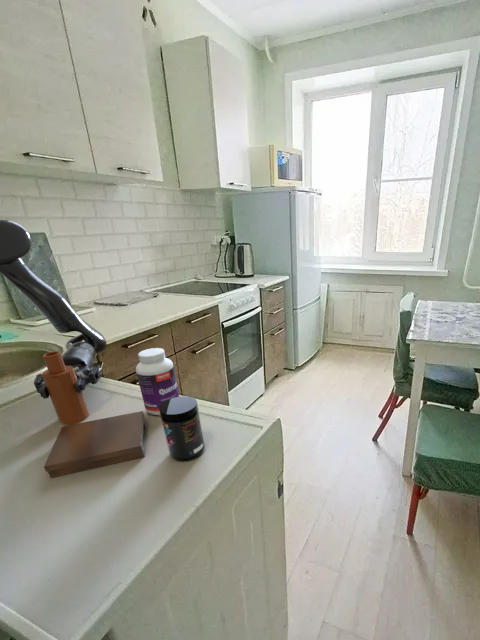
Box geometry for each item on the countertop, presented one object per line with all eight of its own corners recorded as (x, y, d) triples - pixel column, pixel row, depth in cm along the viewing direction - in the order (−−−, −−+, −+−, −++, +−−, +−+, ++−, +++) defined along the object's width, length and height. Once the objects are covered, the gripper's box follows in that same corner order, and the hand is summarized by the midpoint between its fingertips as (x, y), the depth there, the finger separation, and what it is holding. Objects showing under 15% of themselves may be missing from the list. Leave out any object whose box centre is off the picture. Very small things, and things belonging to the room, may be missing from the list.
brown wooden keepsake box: (49, 479, 63) (43, 466, 61) (66, 438, 75) (61, 426, 73) (144, 458, 67) (140, 445, 66) (146, 422, 79) (143, 410, 78)
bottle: (57, 427, 79) (31, 360, 72) (63, 414, 84) (39, 351, 77) (86, 421, 81) (64, 356, 74) (90, 409, 86) (70, 347, 79)
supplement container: (184, 438, 72) (175, 394, 68) (212, 445, 70) (204, 399, 65) (162, 458, 67) (150, 411, 62) (191, 466, 64) (181, 417, 60)
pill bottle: (167, 419, 80) (153, 360, 73) (138, 414, 82) (123, 357, 76) (188, 402, 87) (177, 347, 80) (161, 398, 89) (148, 344, 83)
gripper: (39, 355, 88) (16, 382, 73) (102, 346, 92) (92, 370, 77) (49, 382, 91) (29, 413, 77) (109, 373, 95) (101, 400, 80)
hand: (61, 391), depth 77 cm, fingers closed on bottle, 6 cm apart
